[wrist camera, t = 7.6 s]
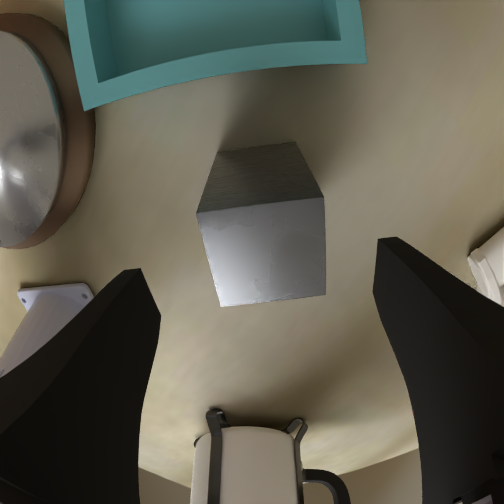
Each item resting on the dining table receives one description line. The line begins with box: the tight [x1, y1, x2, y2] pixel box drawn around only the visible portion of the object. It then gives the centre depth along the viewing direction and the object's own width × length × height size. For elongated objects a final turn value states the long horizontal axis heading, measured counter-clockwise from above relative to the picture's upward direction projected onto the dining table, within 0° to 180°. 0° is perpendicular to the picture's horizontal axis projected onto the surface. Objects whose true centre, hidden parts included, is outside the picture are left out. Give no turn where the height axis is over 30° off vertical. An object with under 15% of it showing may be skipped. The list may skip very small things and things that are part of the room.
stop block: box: [196, 142, 326, 307], centre depth 14 cm, size 4×4×7 cm
